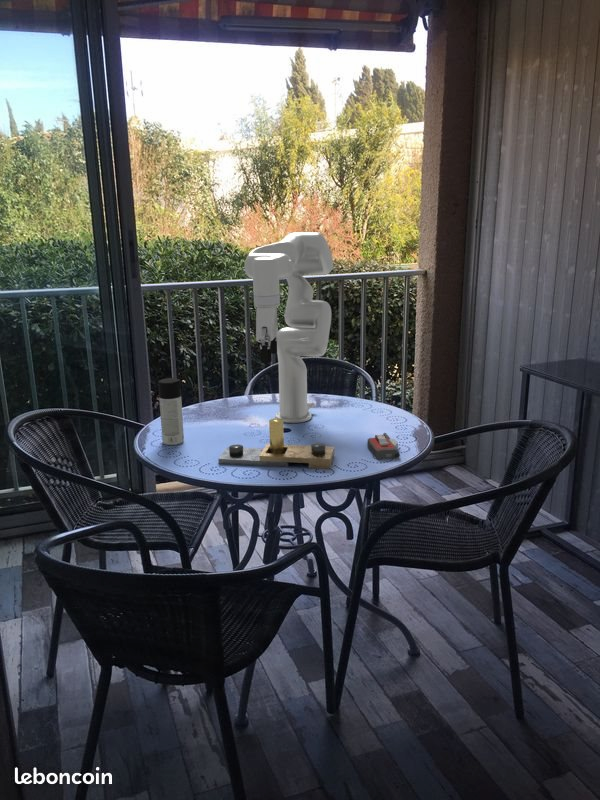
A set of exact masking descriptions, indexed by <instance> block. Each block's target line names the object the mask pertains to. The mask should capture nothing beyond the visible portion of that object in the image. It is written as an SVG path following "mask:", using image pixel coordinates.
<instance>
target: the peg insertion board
mask: <svg viewBox="0 0 600 800" xmlns="http://www.w3.org/2000/svg"><path fill="white" fill-rule="evenodd" d="M334 459H335V447H334V446H328V445H325V443H322V442H317V443H312V444H311V445H303V444H297V445H296V444H284V454H270V443H266V444H265V446H264V448H259V447H244V446H243V445H242V444H231V445H229V446H227V447H226V448H225V450H224V451H223V452H222V453H221V455H220V456H219V458H218V465H233V464H234V466H235V465H236V466H237V465H238V466H259V467H279V468H288V467H289V465H290V464H291V463H295V464H296V463H298V464H300V463H301V464H308V469H316V470H317V469H318V470H319V469H320V470H331V468H332V465H333V461H334Z"/></svg>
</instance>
